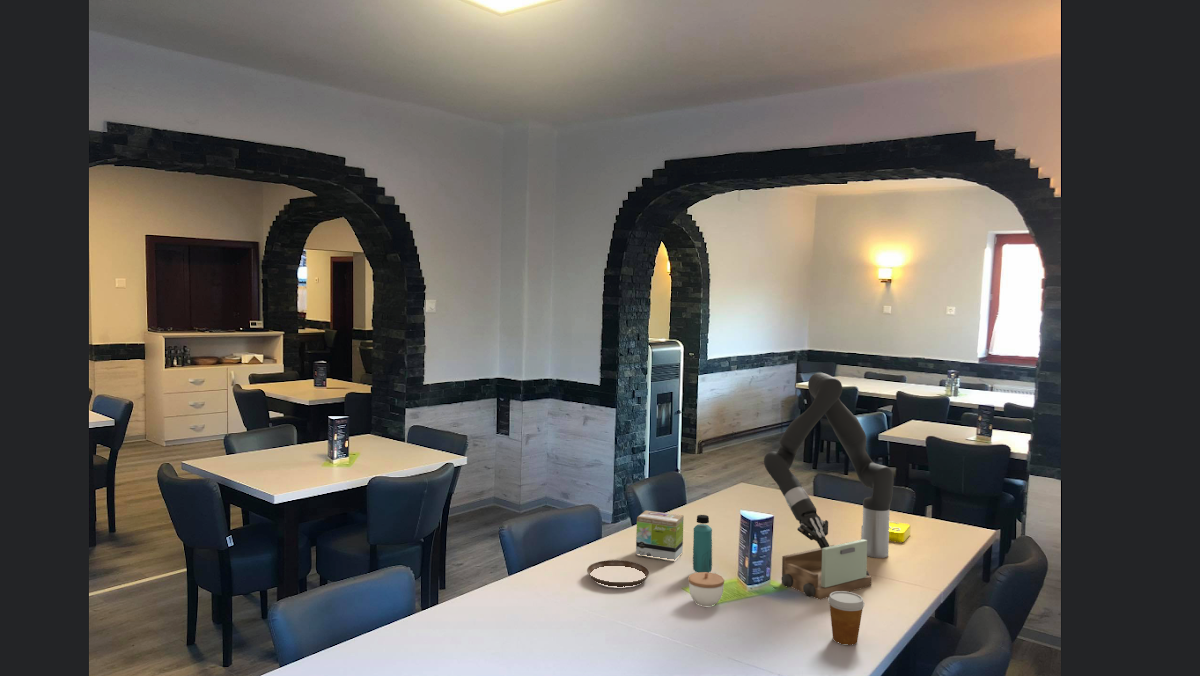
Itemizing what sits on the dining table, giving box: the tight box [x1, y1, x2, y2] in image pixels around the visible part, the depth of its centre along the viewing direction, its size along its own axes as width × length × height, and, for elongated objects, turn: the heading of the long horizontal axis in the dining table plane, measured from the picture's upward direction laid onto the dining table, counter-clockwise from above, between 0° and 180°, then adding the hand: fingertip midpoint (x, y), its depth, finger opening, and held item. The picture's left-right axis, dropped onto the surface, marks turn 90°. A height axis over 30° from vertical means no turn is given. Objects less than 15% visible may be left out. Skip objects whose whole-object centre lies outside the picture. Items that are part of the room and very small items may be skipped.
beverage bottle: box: [692, 514, 713, 573], centre depth 256 cm, size 6×7×20 cm
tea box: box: [635, 509, 684, 560], centre depth 275 cm, size 15×10×15 cm, turn 68°
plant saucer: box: [586, 559, 650, 587], centre depth 251 cm, size 21×21×3 cm
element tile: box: [889, 520, 911, 543], centre depth 304 cm, size 15×15×5 cm
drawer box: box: [781, 544, 872, 600], centre depth 248 cm, size 16×26×9 cm, turn 121°
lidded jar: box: [688, 572, 725, 607], centre depth 231 cm, size 11×11×9 cm
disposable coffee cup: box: [827, 591, 865, 646], centre depth 207 cm, size 10×10×12 cm
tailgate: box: [821, 539, 868, 588], centre depth 242 cm, size 2×19×12 cm, turn 121°
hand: (826, 549), depth 248 cm, fingers closed
